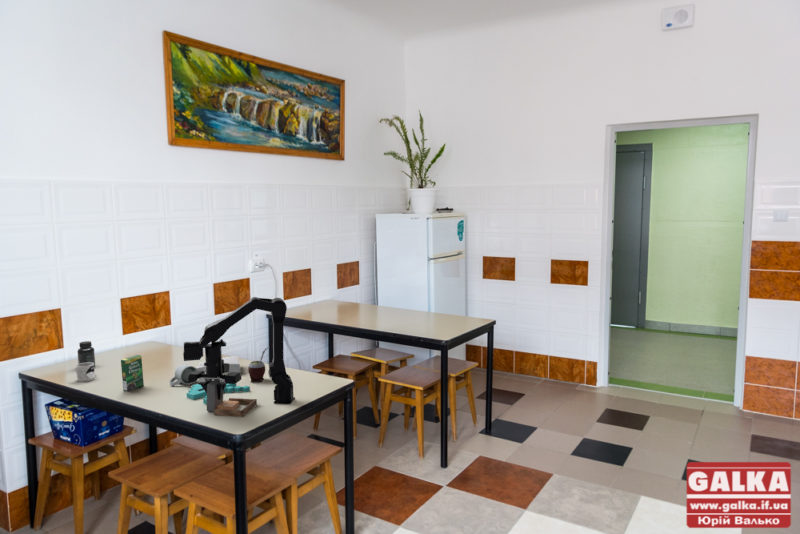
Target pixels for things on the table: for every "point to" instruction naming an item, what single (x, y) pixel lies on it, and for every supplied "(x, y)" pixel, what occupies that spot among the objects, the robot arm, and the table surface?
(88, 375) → the mug
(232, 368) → the ramp
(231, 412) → the walnut bay
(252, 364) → the mate gourd
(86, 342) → the supplement bottle
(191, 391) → the alien figure
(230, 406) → the terracotta tile
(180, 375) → the ceramic mug
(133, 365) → the coffee box
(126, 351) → the table surface
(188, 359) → the robot arm
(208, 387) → the grey matte slab
